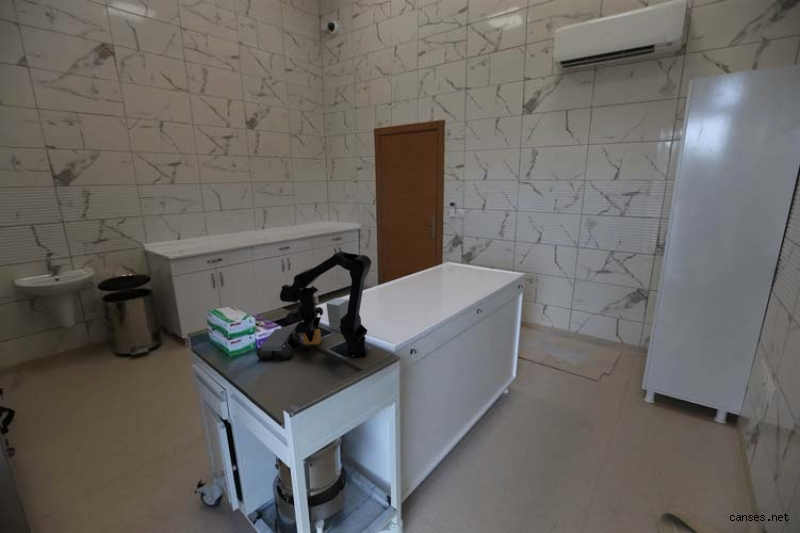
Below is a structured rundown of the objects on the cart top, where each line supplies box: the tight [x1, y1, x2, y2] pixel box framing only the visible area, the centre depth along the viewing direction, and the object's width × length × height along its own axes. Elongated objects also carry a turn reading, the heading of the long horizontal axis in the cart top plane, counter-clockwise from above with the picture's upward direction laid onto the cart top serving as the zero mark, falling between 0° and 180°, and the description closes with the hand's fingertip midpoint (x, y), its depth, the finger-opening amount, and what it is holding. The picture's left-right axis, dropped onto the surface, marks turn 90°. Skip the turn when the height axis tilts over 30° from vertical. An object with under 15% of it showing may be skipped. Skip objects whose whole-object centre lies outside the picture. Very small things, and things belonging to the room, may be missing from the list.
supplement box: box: [326, 297, 349, 332], centre depth 164 cm, size 7×7×13 cm
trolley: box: [256, 327, 302, 362], centre depth 146 cm, size 13×15×6 cm
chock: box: [302, 328, 322, 345], centre depth 147 cm, size 6×4×4 cm, turn 87°
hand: (312, 338), depth 147 cm, fingers closed on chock, 4 cm apart
